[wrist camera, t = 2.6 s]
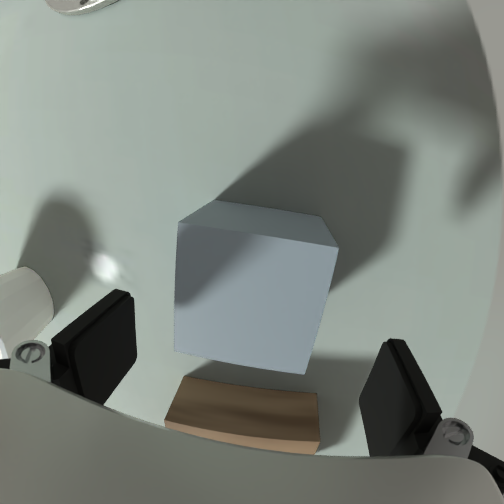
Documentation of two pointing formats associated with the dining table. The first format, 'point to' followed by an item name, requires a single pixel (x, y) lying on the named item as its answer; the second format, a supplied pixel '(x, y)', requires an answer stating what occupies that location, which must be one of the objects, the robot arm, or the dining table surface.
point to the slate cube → (251, 285)
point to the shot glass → (22, 308)
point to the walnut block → (246, 415)
